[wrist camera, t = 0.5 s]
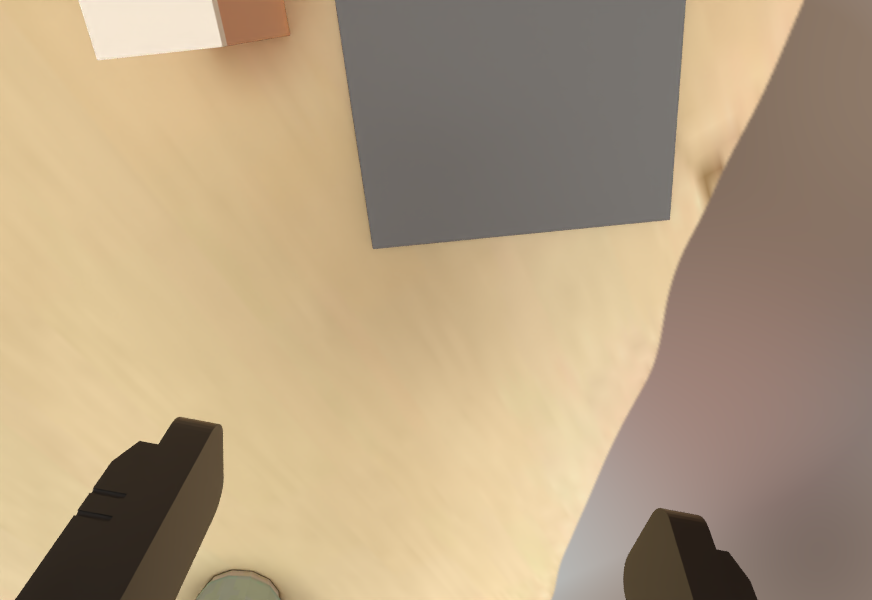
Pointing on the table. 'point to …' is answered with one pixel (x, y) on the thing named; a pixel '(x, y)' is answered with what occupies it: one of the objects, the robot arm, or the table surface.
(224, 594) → the disposable coffee cup
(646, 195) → the charcoal mat
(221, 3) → the terracotta block
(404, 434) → the table surface
